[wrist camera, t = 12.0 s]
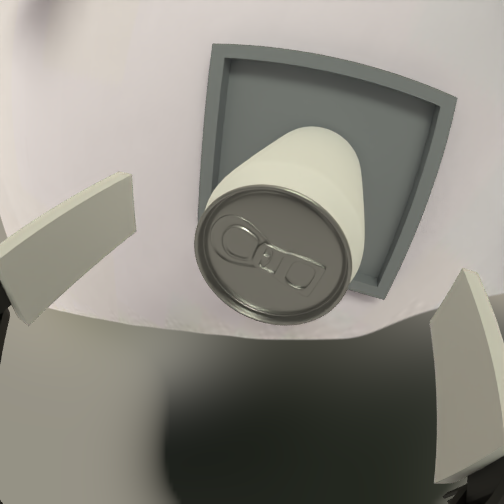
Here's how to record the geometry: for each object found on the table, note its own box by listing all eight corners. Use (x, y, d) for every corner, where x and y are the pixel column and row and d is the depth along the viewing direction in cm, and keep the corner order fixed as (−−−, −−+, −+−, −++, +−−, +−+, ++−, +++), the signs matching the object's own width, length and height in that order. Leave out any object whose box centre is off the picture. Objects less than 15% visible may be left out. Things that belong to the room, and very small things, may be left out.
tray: (223, 46, 17) (212, 43, 16) (448, 97, 14) (457, 97, 13) (206, 234, 26) (197, 244, 25) (383, 286, 23) (384, 299, 22)
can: (289, 109, 18) (208, 138, 8) (377, 152, 18) (404, 234, 8) (257, 189, 22) (171, 285, 12) (335, 228, 21) (309, 355, 12)
